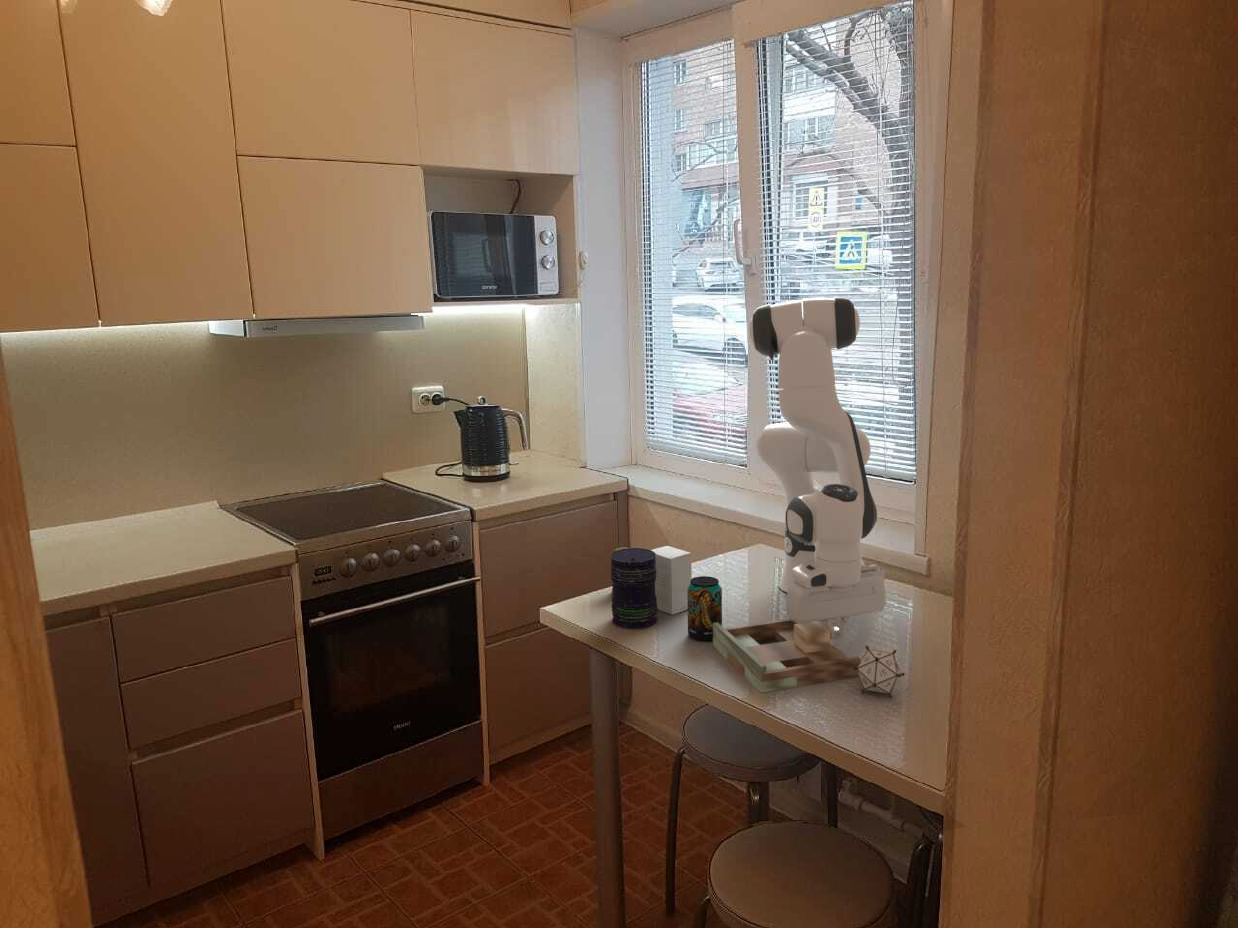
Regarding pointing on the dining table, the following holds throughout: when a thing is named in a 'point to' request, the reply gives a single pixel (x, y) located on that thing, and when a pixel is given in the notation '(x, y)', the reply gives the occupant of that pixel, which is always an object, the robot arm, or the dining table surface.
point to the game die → (878, 671)
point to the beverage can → (704, 607)
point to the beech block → (811, 636)
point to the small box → (672, 579)
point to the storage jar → (634, 588)
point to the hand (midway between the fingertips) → (835, 637)
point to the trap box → (779, 656)
